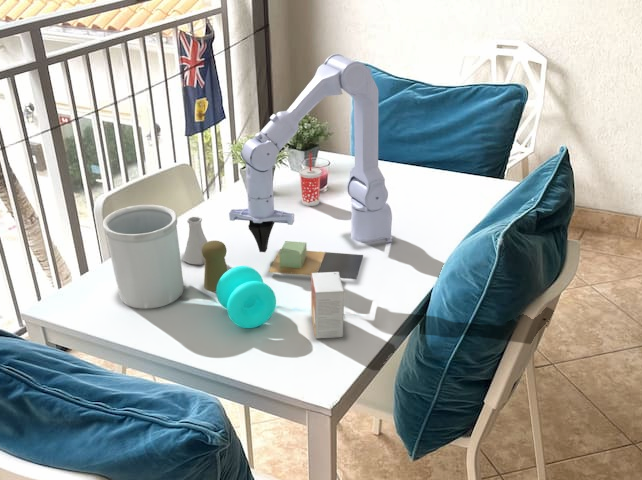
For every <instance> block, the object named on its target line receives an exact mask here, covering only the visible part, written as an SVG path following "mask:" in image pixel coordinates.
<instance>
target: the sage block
mask: <svg viewBox="0 0 642 480" xmlns="http://www.w3.org/2000/svg"><path fill="white" fill-rule="evenodd" d="M280 249H281V251H280V253H279V260H280V267H289V268H302V265H303V263H304V261H305V258H306V256H307V251H308V250H307V249H308V248H307V242H304V241H290V240H285V241H284V243H283V245H282V247H281V248H280Z"/></svg>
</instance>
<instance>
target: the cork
mask: <svg viewBox="0 0 642 480" xmlns="http://www.w3.org/2000/svg"><path fill="white" fill-rule="evenodd" d="M202 255H203V257H204V258H205V264H204V277H203V287H204V289H205V290H206V291H208V292H212V293H214V292H215V293H216V288H217V284H218V281H219V280H220V278H221V277H222V275H223V274H224V273H225V272H227V271H228V270H229V269H228V267H227V262H226V258H225V257H226V256H227V246H226V244H225V243H224V242H222V241H220V240H209V241H207V243H205V244H204V245H203V247H202Z"/></svg>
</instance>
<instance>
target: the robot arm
mask: <svg viewBox="0 0 642 480" xmlns="http://www.w3.org/2000/svg"><path fill="white" fill-rule="evenodd" d="M343 91H344V92H345V93H346V94H347V95H348V96H350V97H351V98H352V99H353V133H354V136H353V137H354V139H353V140H354V141H353V142H354V166H353V167H352V168H351V169H350V170H349V179H348V181H347V184H346V192H347V194H348V195H349V197H350V198H351V217H350V218H351V219H350V222H351V223H350V224H351V225H350V238H351V239H352V240H355V241H356V242H359V243H360V242H361V243H372V242H377V241H379V240H384V239H386V241H385V243H386V244H388V243H392V242H393V239H392V225H393V223H392V222H393V213H392V209H391V206H390V205H389V203H388V202H387V201H388V198H389V191H388V189H387V187H386V183H385V177H384V175H383V173H382V171H381V170H380V167H379V88H378V85H377V83H376V82H375V79H374V77H373V76H372V69H371V68H369V67H368V66H367V65H365V64H364V63H363V62H361V61H357V60H353V59H351V58H348V57H345V56H344V55H342V54H339V53H333V54H331V55H329V56H328V57H327V58H326V59H325V60H324V63H322V64H320V65H319V66H318V68H317V70H316V71H315V74H314V76H313V78H312V79H311V80H310V81H309V82H308V84H307V85H306V86H305V88H304V89H303V90H302V91H301V93H299V94H298V96H297V97H296V99H295V100H294V101H293V102H292V104H291V105H289V107H288V108H287V109H286V110H281V111H278V112H276V113H275V114H274V113H272V115H270V117H269V121H268V122H267V123H266V125H264V127H263V128H262V129H261V130H260V131H259V132H256V133H255V134H254V137H252V138H249V139H248V140H246V141H245V142H244V143H243V145H242V149H241V151H240V157H241V159H242V160H243V162H244V163H245V177H246V193H247V208H242V209H241V208H240V209H238V208H237V209H235V208H234V209H231V210H230V211H229V212H228V217H229V221H230V222H231V221H232V222H234V221H236V220H237V221H248V222H249V223H248V230H249V231H250V233H251V234H252V236H253V237H254V240H255V242H256V245H257V247H258V251H259V253H266V252H267V250H268V245H269V239H270V236H271V233H272V230H273V227H274V225H275V223H276V224H277V223H278V224H287V225H289V226H293V224H294V222H295V213H292V212H286V211H282V210H278V209H275V203H274V202H275V200H274V198H275V197H274V177H273V176H274V175H273V167H274V166H275V165H276V163H277V160H278V155H279V154H280V151H281V150H282V149H283V148H284V147H285V146H286V145H287V144H288V143H289V142H290V140H291V139H292V138H293V137H294V136H295V135H296V134H297V133H298V132H299V122H300V121H301V120H302V119H304V118H305V116H307V115H308V114H309V113H310V112H311V111H312V110H313V109H314V108H315V107H316V106H317V105H318V104H319V103H320V102H321V101H322V100H323V99H324V98H325V97H330V96H341V95H343Z"/></svg>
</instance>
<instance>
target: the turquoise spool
mask: <svg viewBox="0 0 642 480" xmlns="http://www.w3.org/2000/svg"><path fill="white" fill-rule="evenodd" d="M227 270H228V271H227V272H225V273H224V274H223V275H222V277H221V278H220V280H219V281H218V284H217V288H216V292H215V295H216V298H217V301H218V302H219V304H220V305H221V306H222V307H223V308H224V309H226V310H227V311H226V312H227V315H228V317H229V319H230V320H231V322H232V324H234V325H236V326H238V327H239V328H244V329H254V328H258V327H261V326H262V325H264V324H265V323H267V322H268V321H269V320H270V318H271V317H272V316H273V315H274V313H275V310H276V306H277V298H276V294H275V292H274V290H273V289H272V287H271V286H269V284H267V283H265V282H264V279H263V277H262V276H261V274H260V273H259V272H258V270H256V269H255V268H252V267H250V266H247V265H239V266H234V267H232V268H230V269H227Z"/></svg>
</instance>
